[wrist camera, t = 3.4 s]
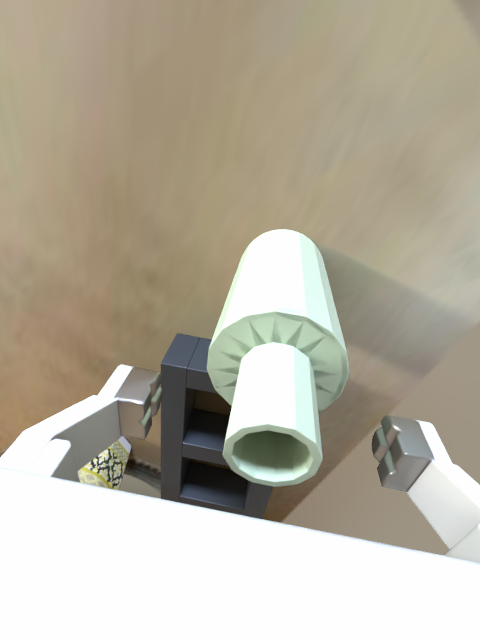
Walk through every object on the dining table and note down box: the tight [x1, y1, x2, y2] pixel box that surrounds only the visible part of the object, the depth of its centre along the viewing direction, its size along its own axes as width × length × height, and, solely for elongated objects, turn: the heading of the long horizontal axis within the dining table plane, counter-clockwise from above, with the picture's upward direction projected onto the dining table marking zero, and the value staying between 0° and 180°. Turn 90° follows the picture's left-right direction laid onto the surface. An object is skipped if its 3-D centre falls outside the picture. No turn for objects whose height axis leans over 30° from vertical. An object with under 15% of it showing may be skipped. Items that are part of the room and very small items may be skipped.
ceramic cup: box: [78, 436, 131, 490], centre depth 32 cm, size 13×10×10 cm
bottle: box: [207, 229, 349, 487], centre depth 16 cm, size 6×6×15 cm
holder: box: [161, 334, 273, 519], centre depth 30 cm, size 11×20×4 cm, turn 172°
